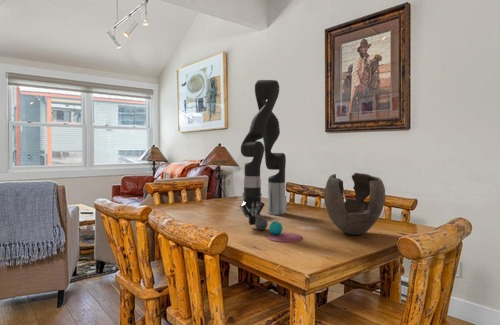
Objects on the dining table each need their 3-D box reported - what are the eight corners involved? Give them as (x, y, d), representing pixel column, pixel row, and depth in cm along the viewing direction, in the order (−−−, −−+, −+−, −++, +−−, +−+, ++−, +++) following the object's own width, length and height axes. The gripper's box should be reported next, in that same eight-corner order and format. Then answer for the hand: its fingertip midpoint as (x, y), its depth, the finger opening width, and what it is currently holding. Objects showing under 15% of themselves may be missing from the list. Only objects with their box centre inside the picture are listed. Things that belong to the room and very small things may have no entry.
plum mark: (285, 231, 145) (285, 231, 145) (310, 238, 134) (310, 237, 134) (260, 236, 136) (260, 236, 136) (284, 244, 125) (284, 243, 125)
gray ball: (268, 215, 148) (271, 228, 146) (260, 219, 152) (262, 231, 150) (259, 215, 145) (262, 228, 143) (251, 219, 148) (253, 231, 146)
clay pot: (339, 225, 157) (339, 171, 156) (393, 233, 141) (394, 174, 141) (314, 235, 138) (314, 174, 137) (372, 246, 123) (373, 177, 122)
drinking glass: (240, 216, 177) (239, 193, 177) (245, 213, 187) (245, 191, 186) (258, 217, 174) (258, 194, 174) (263, 214, 184) (263, 192, 183)
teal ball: (276, 219, 143) (285, 222, 138) (275, 232, 143) (284, 235, 139) (266, 220, 139) (275, 224, 135) (266, 233, 140) (275, 237, 135)
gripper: (245, 187, 144) (245, 228, 144) (269, 185, 152) (268, 224, 152) (235, 186, 150) (235, 225, 150) (258, 184, 158) (258, 221, 158)
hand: (252, 224), depth 151 cm, fingers closed
